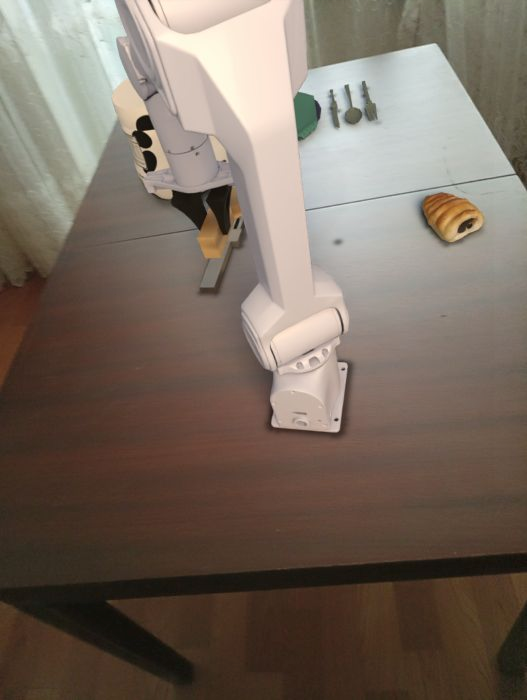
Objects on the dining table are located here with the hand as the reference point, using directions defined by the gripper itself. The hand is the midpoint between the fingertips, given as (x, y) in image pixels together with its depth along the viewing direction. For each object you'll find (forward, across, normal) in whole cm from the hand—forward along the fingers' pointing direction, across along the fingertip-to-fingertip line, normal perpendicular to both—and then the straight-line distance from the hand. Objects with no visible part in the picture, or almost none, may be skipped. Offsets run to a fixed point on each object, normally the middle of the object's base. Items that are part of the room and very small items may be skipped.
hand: (217, 230), depth 69 cm
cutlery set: (+9, -3, -42) cm, 43 cm away
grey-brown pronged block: (+8, +3, -4) cm, 10 cm away
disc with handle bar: (+2, 0, -3) cm, 3 cm away
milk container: (+9, +15, -25) cm, 30 cm away
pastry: (+9, -31, -10) cm, 34 cm away
